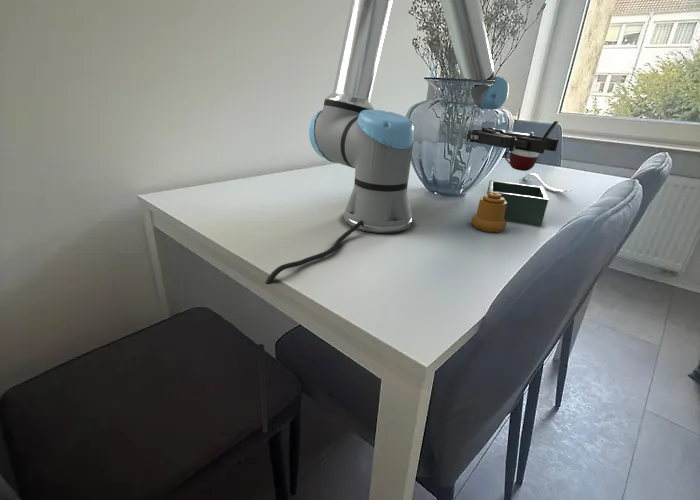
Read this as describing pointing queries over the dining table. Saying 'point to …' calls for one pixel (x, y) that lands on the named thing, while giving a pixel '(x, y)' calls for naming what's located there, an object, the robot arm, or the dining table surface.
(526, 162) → the cocoa
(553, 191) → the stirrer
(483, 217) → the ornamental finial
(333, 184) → the dining table surface
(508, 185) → the bin
